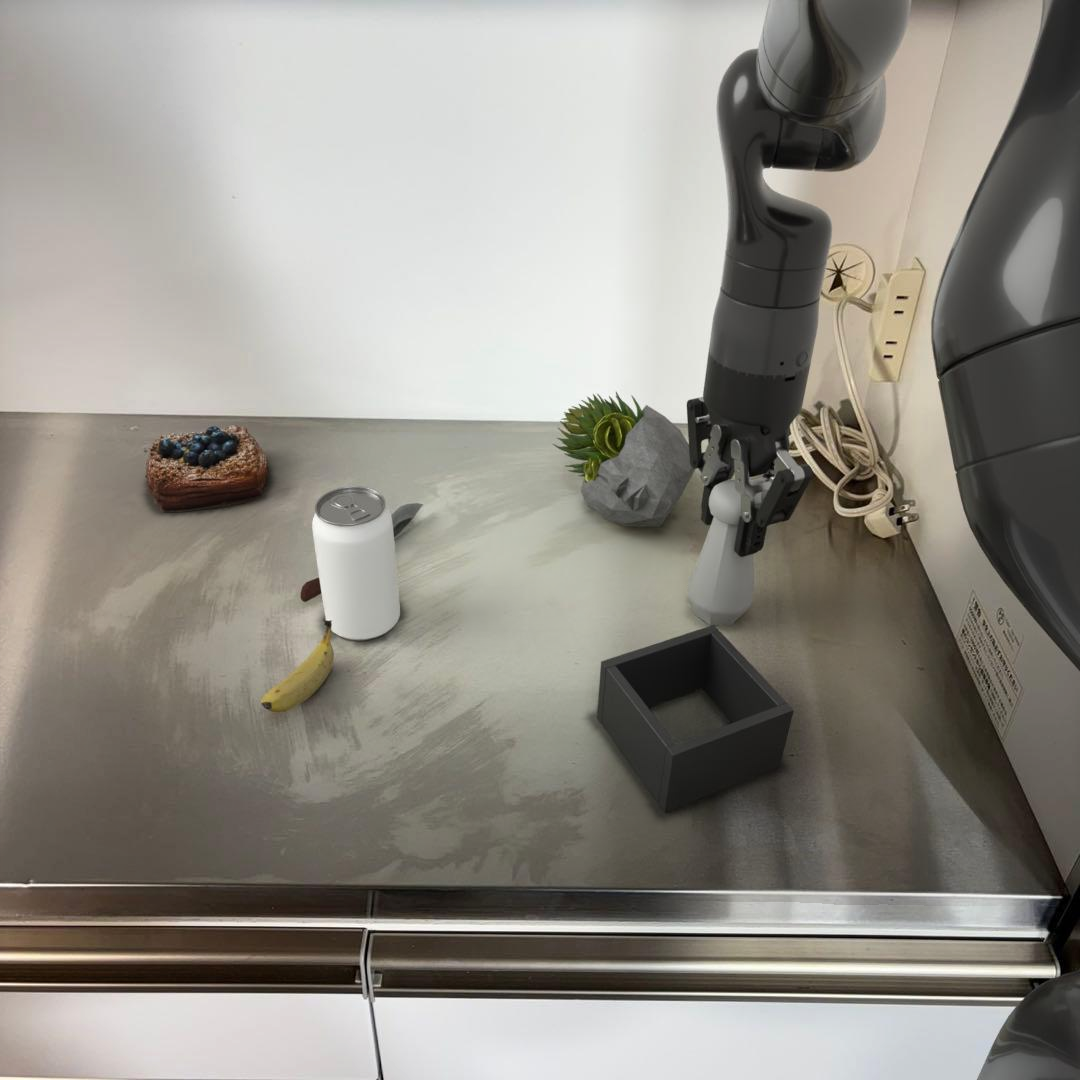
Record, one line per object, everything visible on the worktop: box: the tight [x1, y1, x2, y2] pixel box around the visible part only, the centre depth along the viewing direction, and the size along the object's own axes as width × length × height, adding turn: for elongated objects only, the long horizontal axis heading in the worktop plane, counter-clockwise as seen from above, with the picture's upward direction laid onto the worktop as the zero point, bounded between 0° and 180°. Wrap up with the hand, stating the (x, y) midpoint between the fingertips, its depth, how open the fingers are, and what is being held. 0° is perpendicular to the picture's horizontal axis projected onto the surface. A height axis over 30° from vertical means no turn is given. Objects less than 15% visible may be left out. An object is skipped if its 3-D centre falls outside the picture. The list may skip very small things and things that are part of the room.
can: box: [311, 485, 401, 642], centre depth 81 cm, size 6×6×12 cm
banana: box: [260, 618, 335, 713], centre depth 76 cm, size 10×2×4 cm, turn 162°
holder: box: [596, 625, 795, 814], centre depth 72 cm, size 10×10×6 cm
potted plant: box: [552, 391, 696, 528], centre depth 97 cm, size 12×13×15 cm
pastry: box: [145, 424, 269, 513], centre depth 101 cm, size 11×12×6 cm
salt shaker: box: [687, 479, 761, 626], centre depth 83 cm, size 6×6×13 cm
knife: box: [300, 502, 424, 603], centre depth 91 cm, size 18×2×3 cm, turn 151°
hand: (729, 536), depth 82 cm, fingers closed on salt shaker, 4 cm apart
